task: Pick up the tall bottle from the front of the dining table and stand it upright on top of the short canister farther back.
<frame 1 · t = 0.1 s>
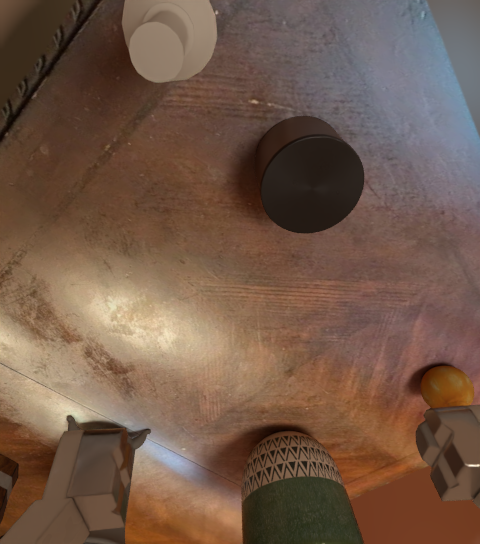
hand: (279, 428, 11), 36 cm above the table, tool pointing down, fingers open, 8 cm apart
bottle: (181, 10, 35), on the table
canister: (298, 162, 44), on the table
planter: (282, 439, 78), on the table
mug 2: (109, 436, 73), on the table
fruit: (436, 373, 70), on the table
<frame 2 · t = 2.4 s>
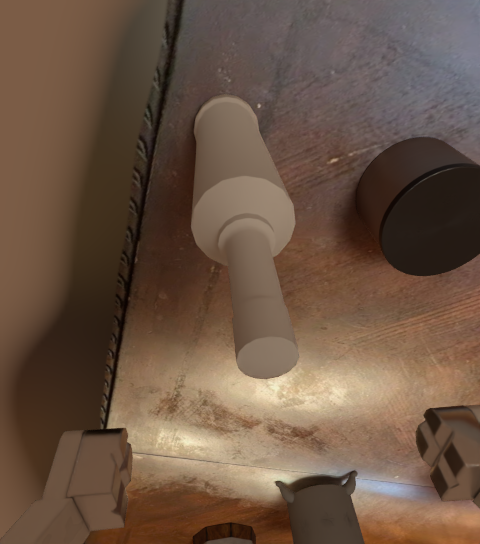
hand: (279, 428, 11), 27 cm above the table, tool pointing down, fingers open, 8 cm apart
bottle: (225, 124, 33), on the table
mug: (222, 541, 86), on the table
canister: (407, 189, 38), on the table
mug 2: (319, 486, 74), on the table
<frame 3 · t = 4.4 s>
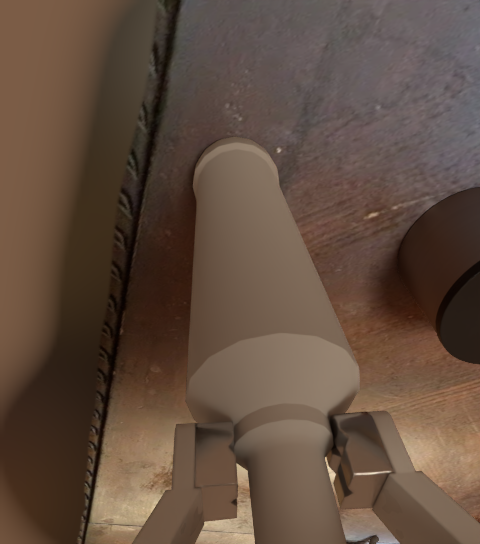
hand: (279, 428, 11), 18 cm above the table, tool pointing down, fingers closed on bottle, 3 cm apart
bottle: (234, 172, 25), on the table, touching gripper
canister: (463, 247, 30), on the table
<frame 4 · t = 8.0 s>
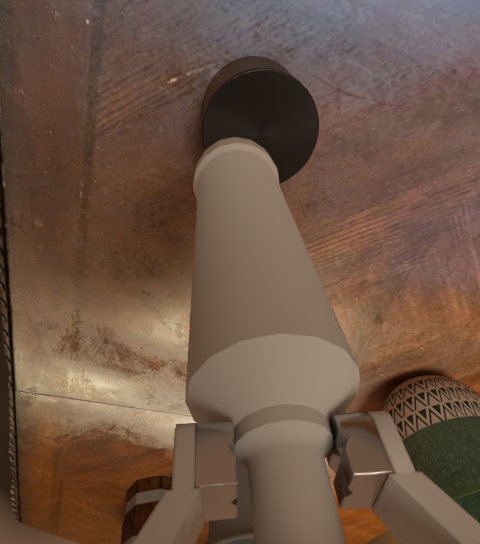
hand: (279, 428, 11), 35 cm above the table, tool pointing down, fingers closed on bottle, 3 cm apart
bottle: (234, 173, 25), point 18 cm above the table, touching gripper
mug: (157, 496, 88), on the table
canister: (252, 111, 40), on the table
planter: (414, 387, 71), on the table
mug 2: (241, 436, 76), on the table
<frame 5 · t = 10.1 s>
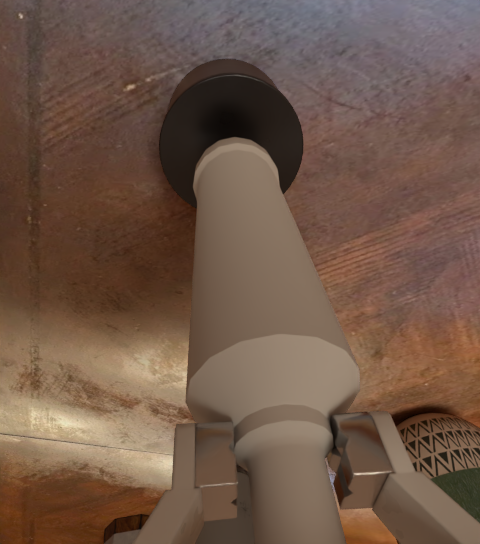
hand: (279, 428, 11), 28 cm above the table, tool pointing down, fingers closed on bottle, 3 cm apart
bottle: (234, 173, 25), point 11 cm above the table, touching gripper
mug: (138, 534, 81), on the table
canister: (227, 124, 34), on the table
planter: (417, 423, 64), on the table
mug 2: (227, 474, 69), on the table
when the fingers open (25 cm above the table, at t = 11.5 s): bottle stays where it is, resting on canister.
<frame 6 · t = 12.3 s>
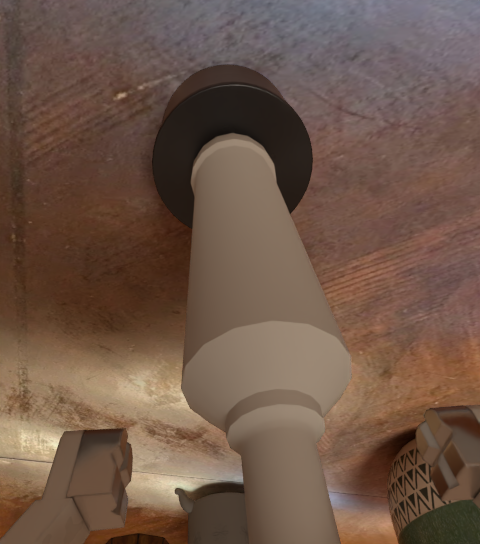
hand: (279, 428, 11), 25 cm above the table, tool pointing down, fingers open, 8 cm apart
bottle: (231, 169, 25), point 7 cm above the table, touching canister
canister: (227, 135, 31), on the table
planter: (426, 442, 62), on the table
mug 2: (228, 493, 67), on the table
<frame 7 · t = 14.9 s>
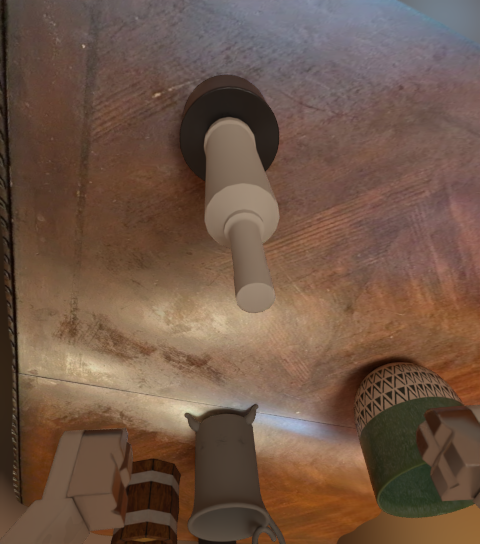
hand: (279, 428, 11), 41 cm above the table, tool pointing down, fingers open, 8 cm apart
bottle: (228, 140, 40), point 7 cm above the table, touching canister
mug: (150, 479, 93), on the table
canister: (226, 121, 46), on the table
planter: (387, 374, 77), on the table
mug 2: (227, 420, 82), on the table
vase: (216, 525, 111), on the table
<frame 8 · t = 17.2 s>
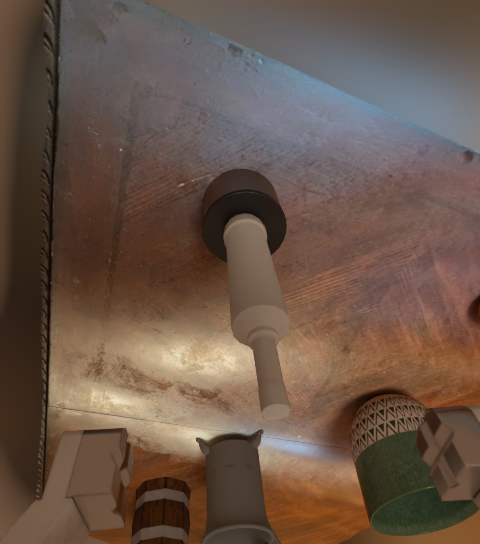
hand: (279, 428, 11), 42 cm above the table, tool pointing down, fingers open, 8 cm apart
bottle: (243, 229, 48), point 7 cm above the table, touching canister
mug: (162, 495, 101), on the table
canister: (240, 204, 53), on the table
planter: (380, 403, 84), on the table
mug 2: (235, 443, 89), on the table
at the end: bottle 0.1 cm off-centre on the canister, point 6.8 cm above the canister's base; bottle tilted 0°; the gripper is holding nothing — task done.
